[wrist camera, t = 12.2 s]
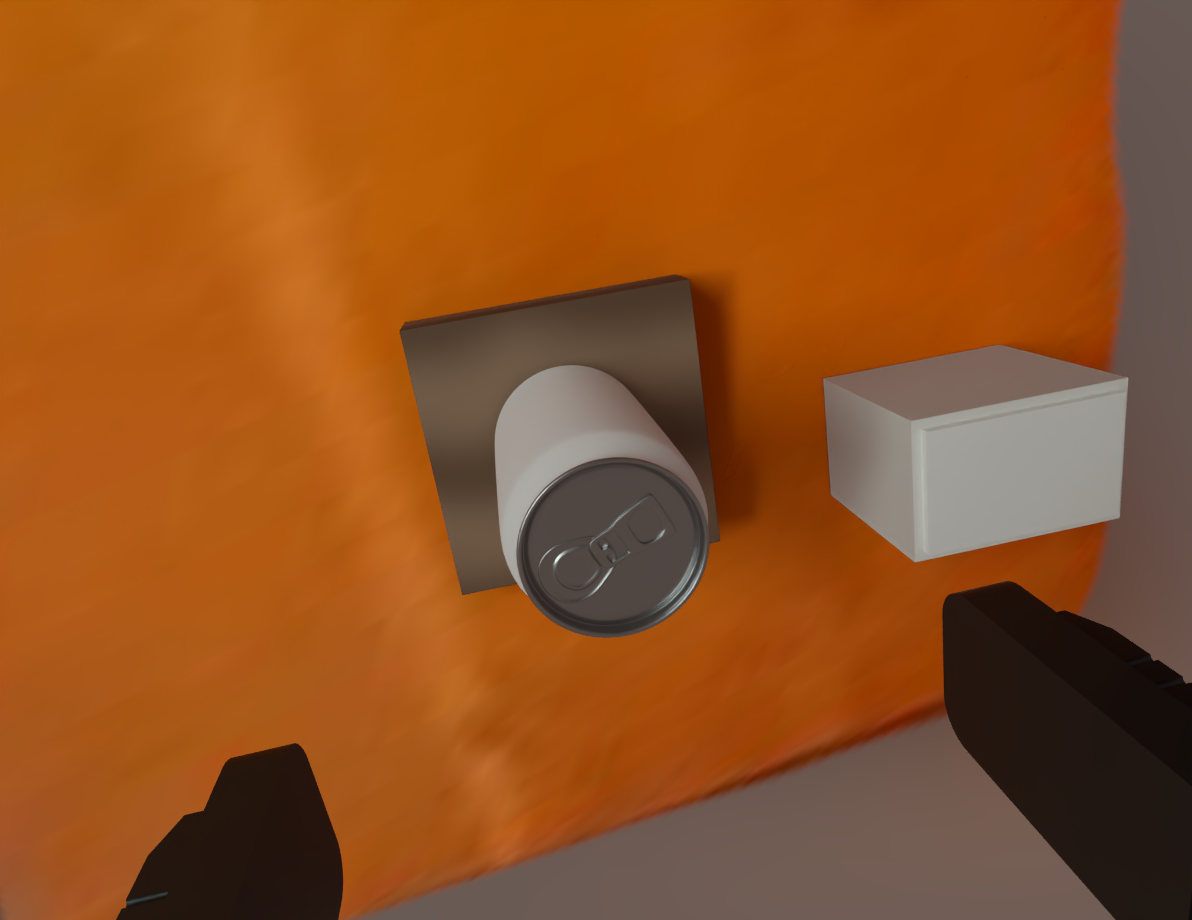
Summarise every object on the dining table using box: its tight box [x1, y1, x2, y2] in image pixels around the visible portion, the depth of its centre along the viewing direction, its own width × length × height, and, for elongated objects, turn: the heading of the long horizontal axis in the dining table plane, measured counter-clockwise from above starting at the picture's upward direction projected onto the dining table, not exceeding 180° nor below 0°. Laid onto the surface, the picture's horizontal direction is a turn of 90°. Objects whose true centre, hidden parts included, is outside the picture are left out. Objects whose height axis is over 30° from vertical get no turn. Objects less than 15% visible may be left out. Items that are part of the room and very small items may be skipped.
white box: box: [823, 345, 1128, 562], centre depth 35 cm, size 6×9×8 cm, turn 99°
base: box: [400, 275, 720, 595], centre depth 35 cm, size 12×12×2 cm
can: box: [495, 365, 709, 638], centre depth 28 cm, size 6×6×12 cm
